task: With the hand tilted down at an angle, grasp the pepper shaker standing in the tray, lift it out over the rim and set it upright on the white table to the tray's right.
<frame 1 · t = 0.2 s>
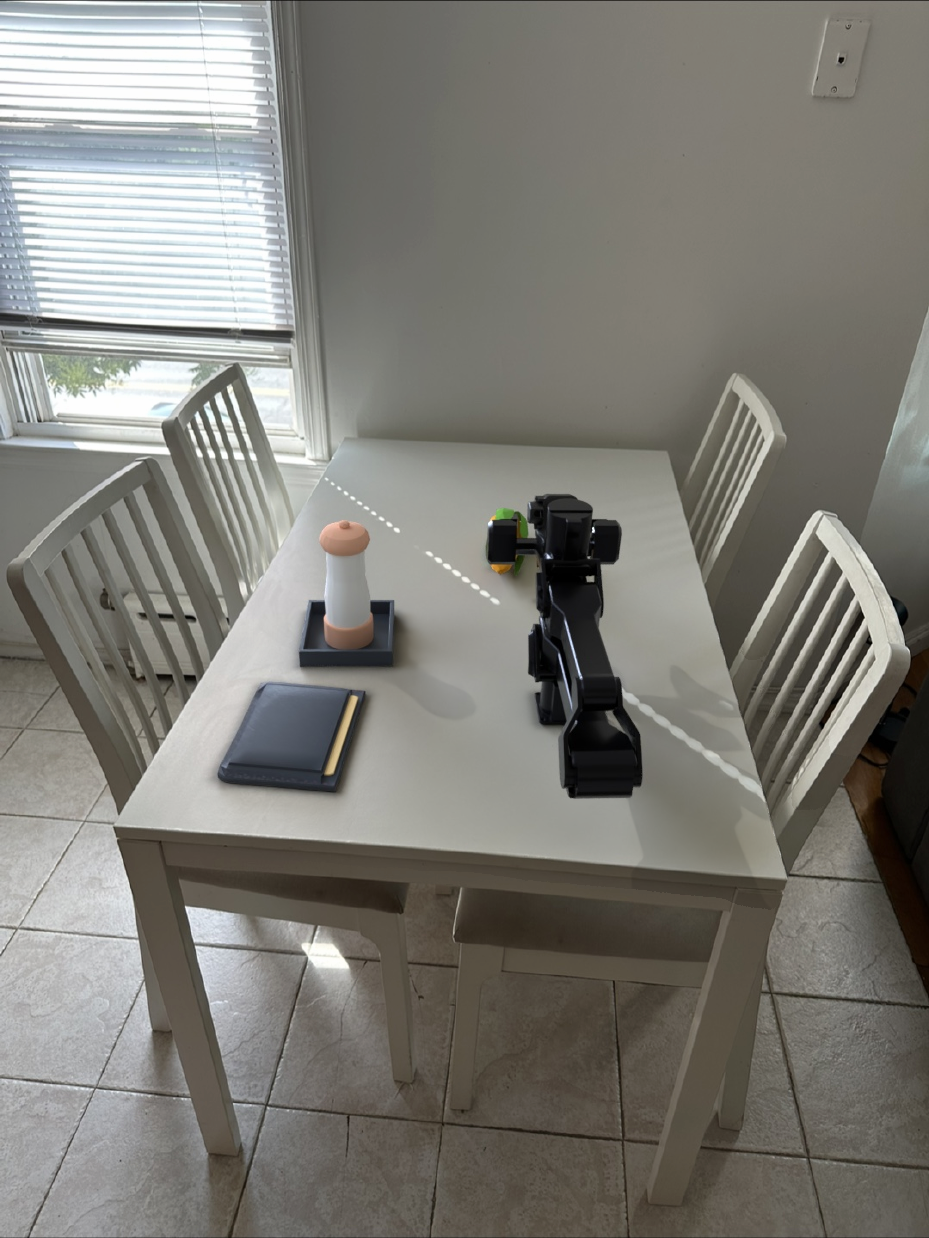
hand: (546, 516, 138), 17 cm above the table, tool horizontal, fingers open, 9 cm apart
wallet: (296, 736, 119), on the table
tray: (349, 639, 138), on the table
corn: (505, 562, 160), on the table
pepper shaker: (349, 638, 138), resting on tray
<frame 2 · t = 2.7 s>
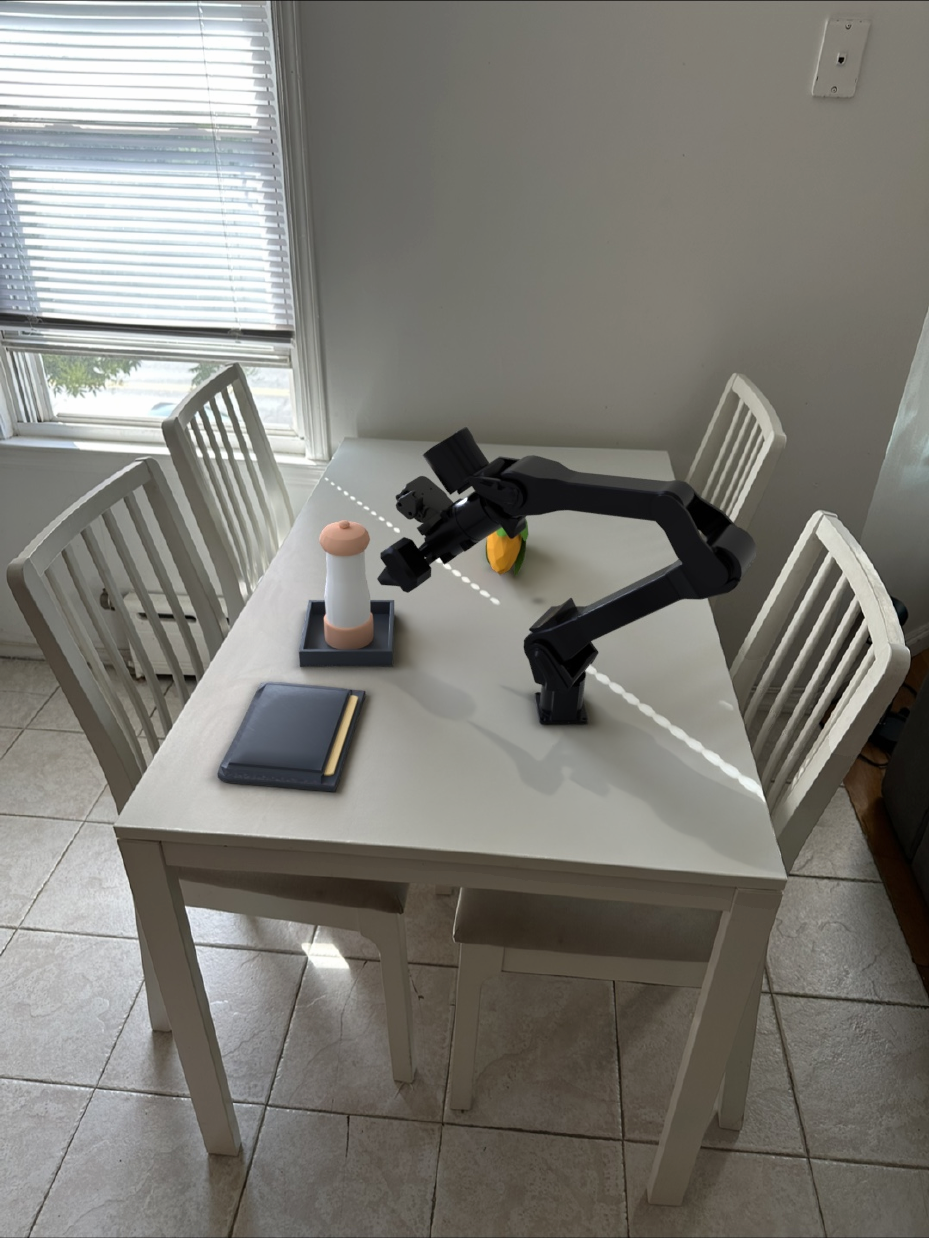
hand: (398, 567, 129), 14 cm above the table, tool tilted 45°, fingers open, 9 cm apart
nothing on the table moved.
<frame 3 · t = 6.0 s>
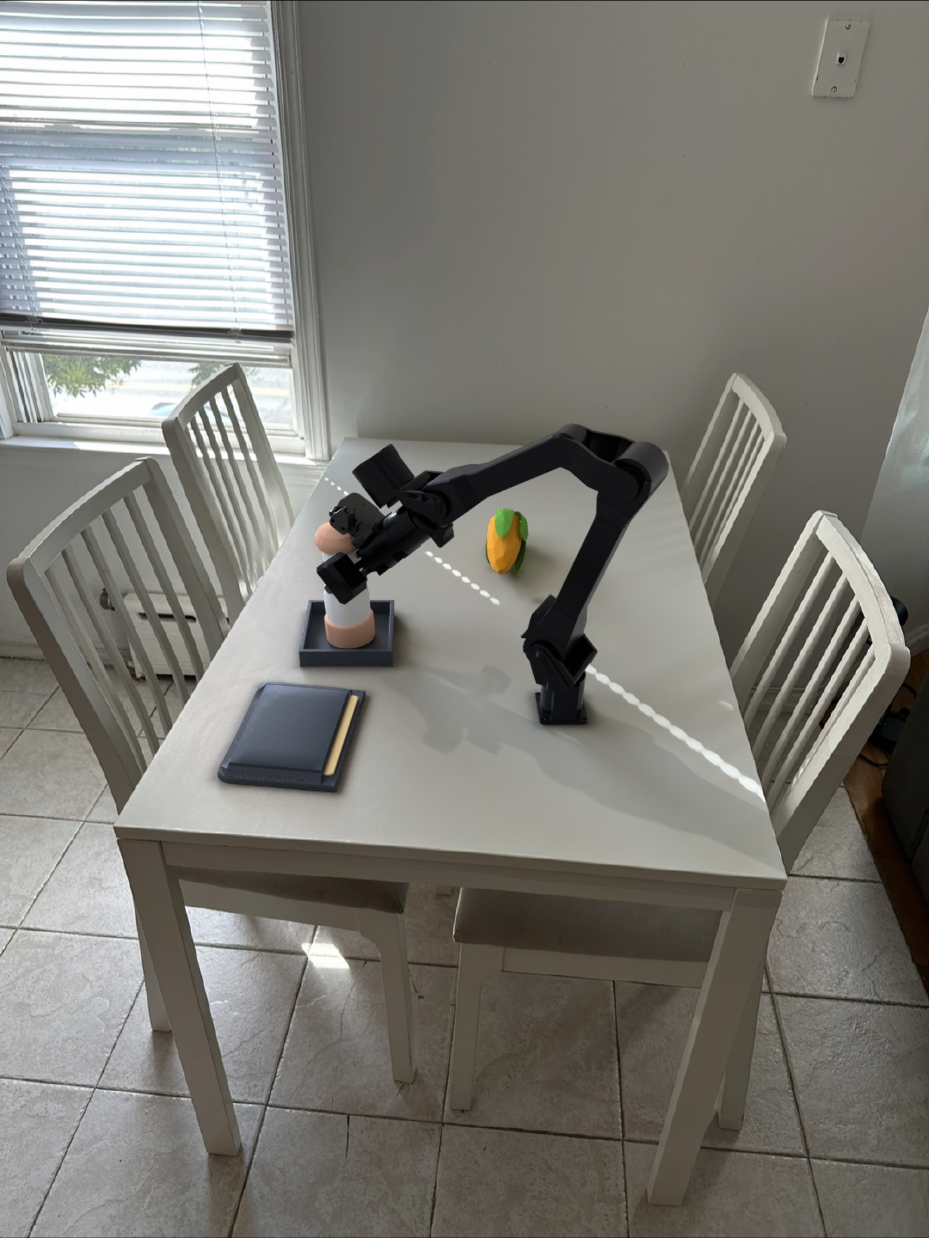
hand: (338, 581, 134), 9 cm above the table, tool tilted 45°, fingers closed on pepper shaker, 5 cm apart
pepper shaker: (351, 636, 138), resting on tray, touching gripper
everything else where it was.
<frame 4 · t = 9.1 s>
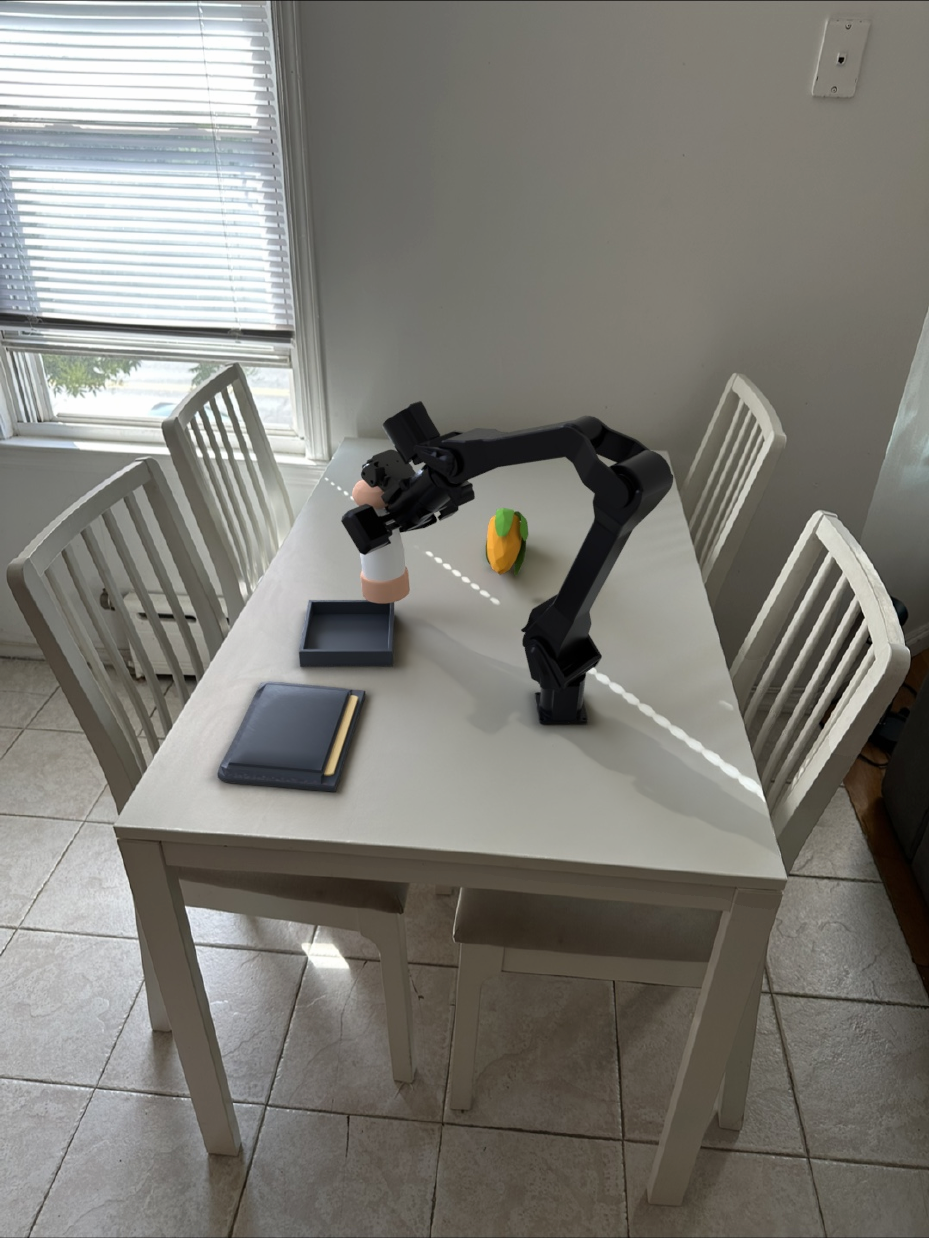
hand: (375, 537, 138), 13 cm above the table, tool tilted 45°, fingers closed on pepper shaker, 5 cm apart
pepper shaker: (386, 593, 142), point 4 cm above the table, touching gripper
everything else where it was.
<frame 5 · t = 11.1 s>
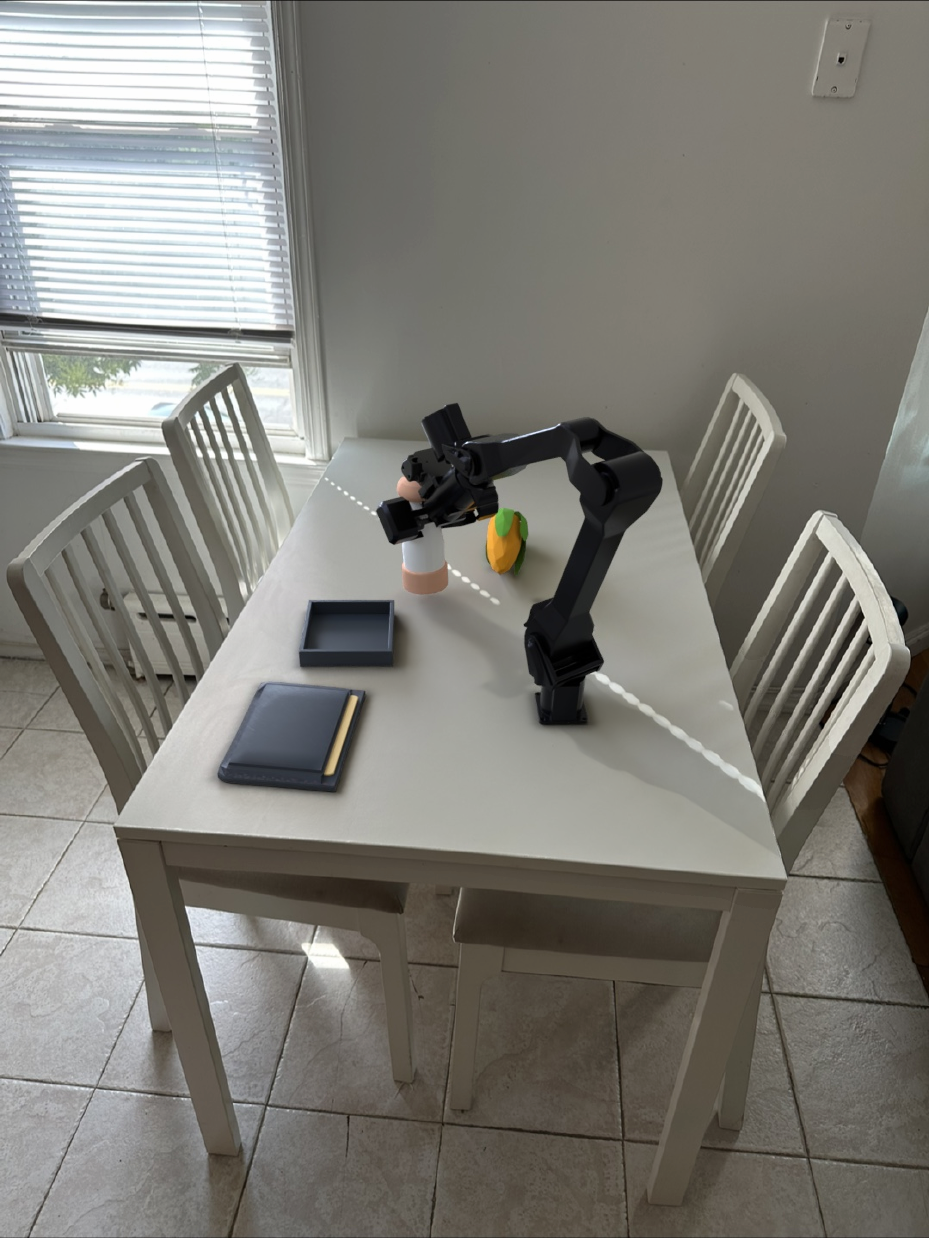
hand: (418, 530, 144), 12 cm above the table, tool tilted 45°, fingers closed on pepper shaker, 5 cm apart
pepper shaker: (425, 585, 147), point 3 cm above the table, touching gripper
everything else where it was.
when the fingers open (9 cm above the table, at t = 12.5 s): pepper shaker stays where it is, on the table.
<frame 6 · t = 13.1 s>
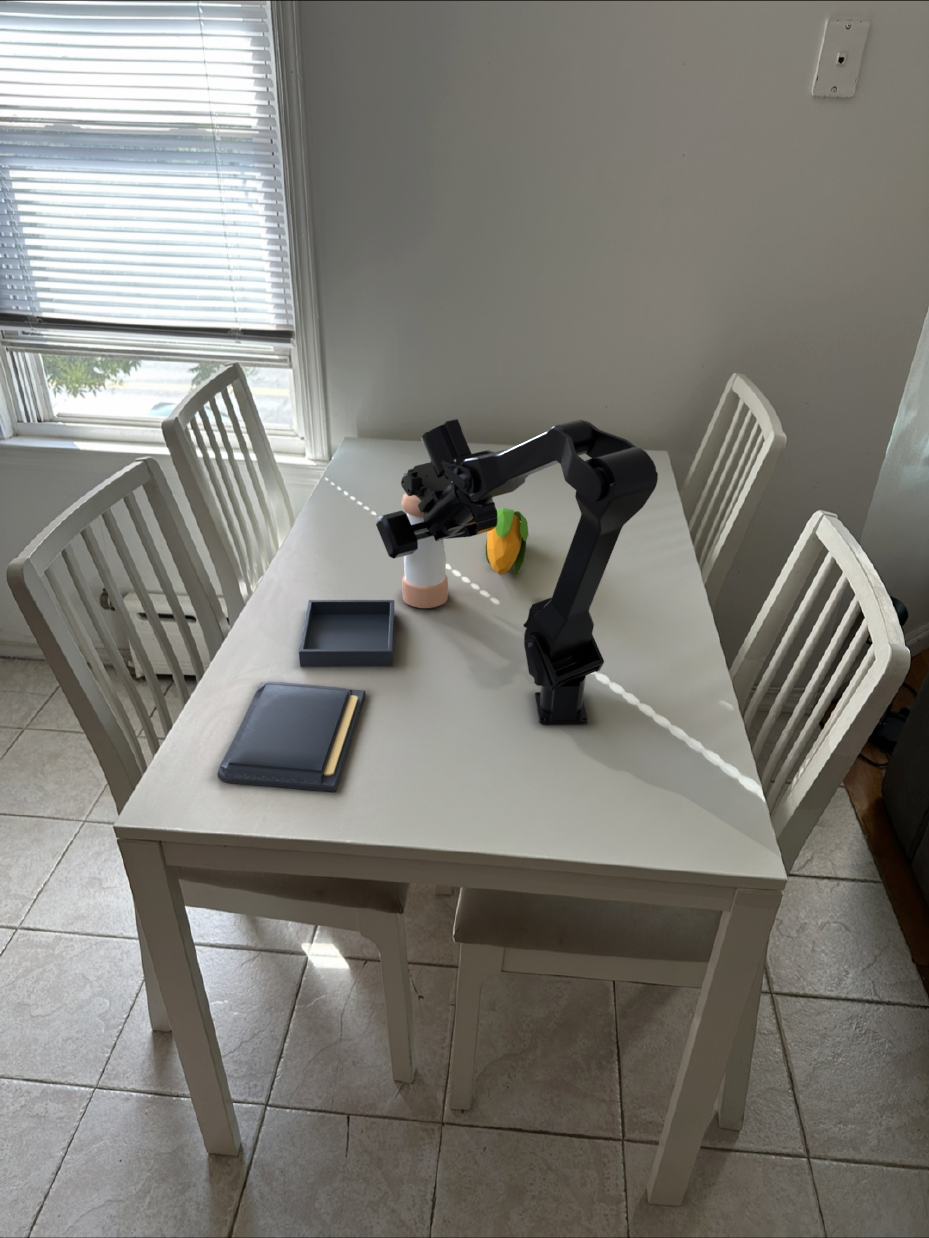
hand: (417, 542, 145), 9 cm above the table, tool tilted 45°, fingers open, 9 cm apart
pepper shaker: (425, 598, 149), on the table
everything else where it was.
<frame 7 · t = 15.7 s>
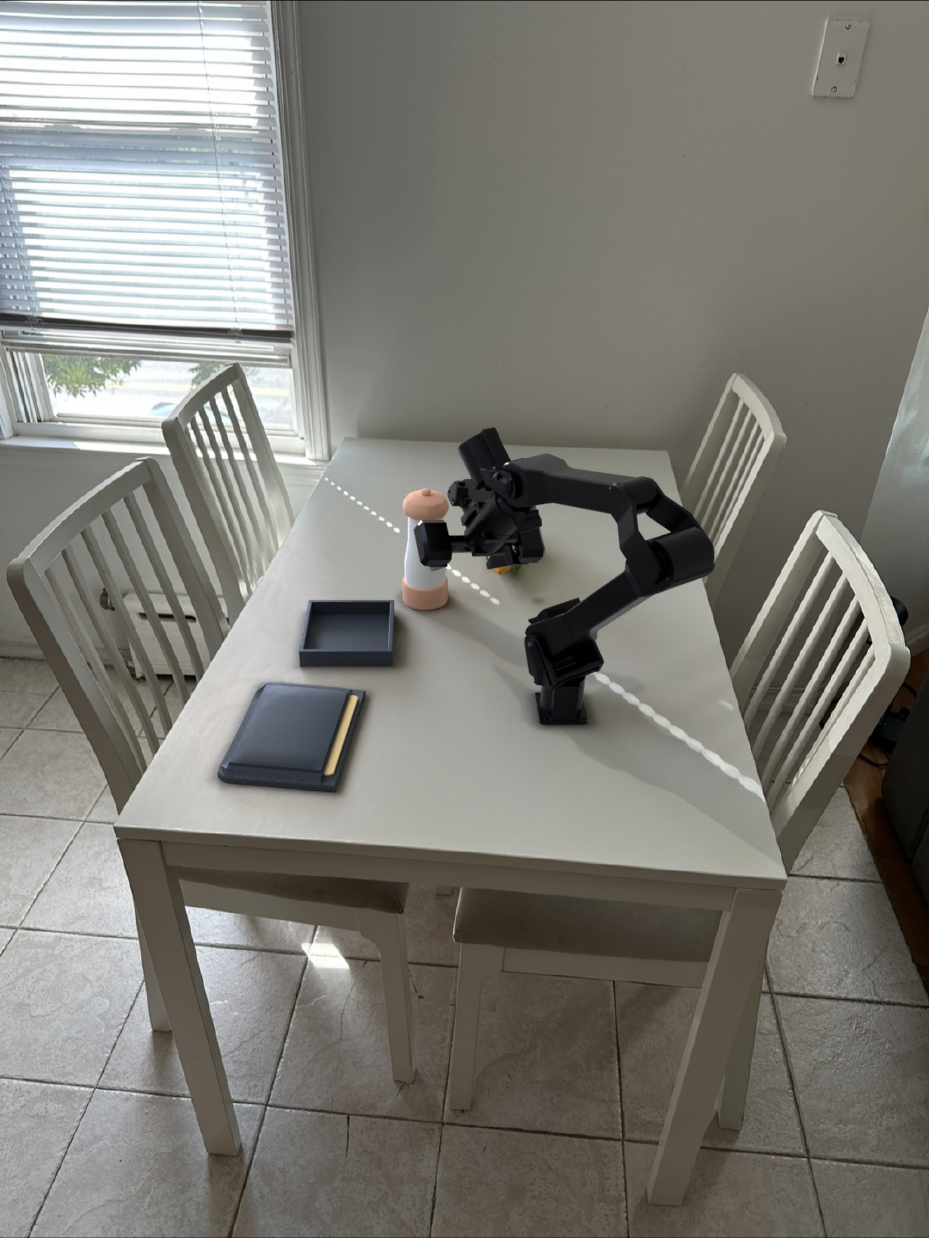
hand: (459, 567, 137), 10 cm above the table, tool tilted 40°, fingers open, 9 cm apart
nothing on the table moved.
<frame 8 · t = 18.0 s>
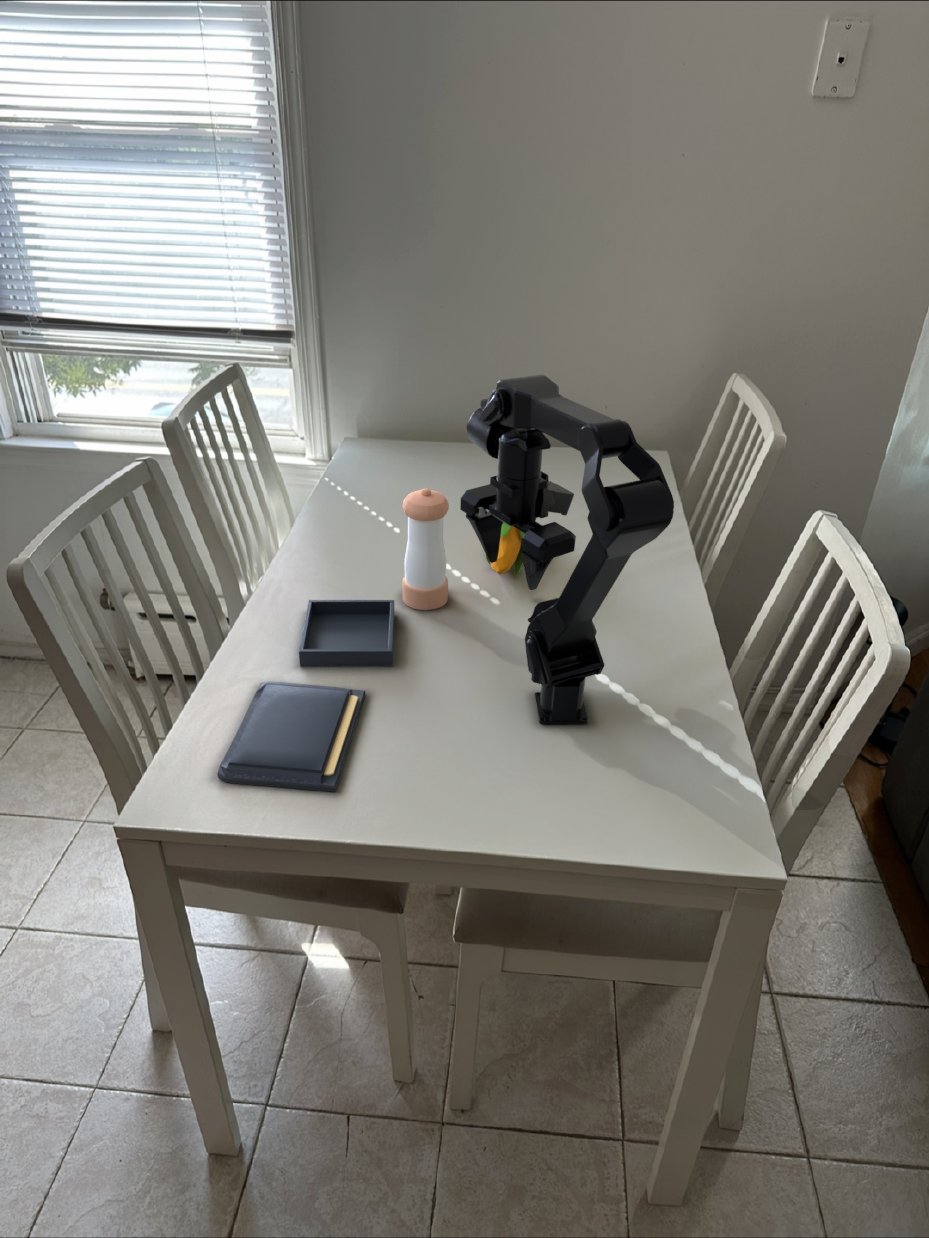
hand: (512, 575, 130), 13 cm above the table, tool pointing down, fingers open, 9 cm apart
nothing on the table moved.
at the end: pepper shaker inside the target area (0.5 cm from its centre), on the table; pepper shaker tilted 0°; the gripper is holding nothing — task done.
